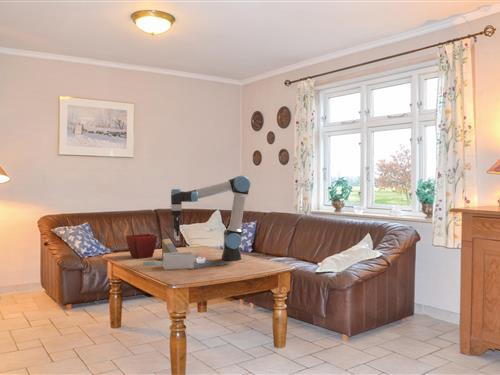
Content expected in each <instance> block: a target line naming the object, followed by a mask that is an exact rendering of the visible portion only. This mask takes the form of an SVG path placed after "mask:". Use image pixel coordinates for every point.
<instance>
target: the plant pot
mask: <svg viewBox="0 0 500 375" xmlns="http://www.w3.org/2000/svg"><path fill="white" fill-rule="evenodd" d="M125 238H126V243H127V247H128V250H129V254H130V256H131V257H133V258H135V259H144V258H152V257H153V256H154V254H155V249H156V247H157V242H158V235H156V234H151V233H143V234H140V233H139V234H130V235H126V236H125Z"/></svg>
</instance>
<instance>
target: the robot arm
mask: <svg viewBox="0 0 500 375" xmlns="http://www.w3.org/2000/svg"><path fill="white" fill-rule="evenodd" d="M250 188H251V180H250V178H249V177H247V176H246V175H241V174H240V175H238V176H236V177H234V178H229V179H227V181H224V182H220V183H215V184H212V185H209V186H205V187H204V186H203V187H200V188H196V189H193V190H188V191H182V189H181V188H171V191H170V203H171V204H170V206H169V207H170V209H171V211H170V216H173V238H174V239H175V241H180V230H181V228H180V217H179V216H182V215H183V211H182V210H183V206H182V205H183V204H182V203H190V202H192V203H194V202H198V201H199V199H205V198H209V197H212V196H215V195H219V194H224V193H228V192H231V193H232V194H233V201H232V207H231V214H230V219H229V220H230V221H229V226H228V228H226V229H224V230H223V252H222V255H221V260H223V261H240V260H242V254H241V250H240V246H241V245H242V242H243V240H242V236H243V230H242V224H243V215H244V210H245V205H246V204H245V203H246V198H247V196H249V191H250Z"/></svg>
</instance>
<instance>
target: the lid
mask: <svg viewBox="0 0 500 375" xmlns="http://www.w3.org/2000/svg"><path fill="white" fill-rule="evenodd" d="M160 265H162V266H163V260H162V261H161V260H160V261H159V260H158V261H143V266H160Z"/></svg>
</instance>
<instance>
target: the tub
mask: <svg viewBox="0 0 500 375" xmlns="http://www.w3.org/2000/svg"><path fill="white" fill-rule="evenodd" d="M162 261H163V265H162V266H163V269H164V270H165V271H166V270H181V269H195V255H194V252H192V251H180V252H179V251H178V252H176V253H163V259H162Z"/></svg>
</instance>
